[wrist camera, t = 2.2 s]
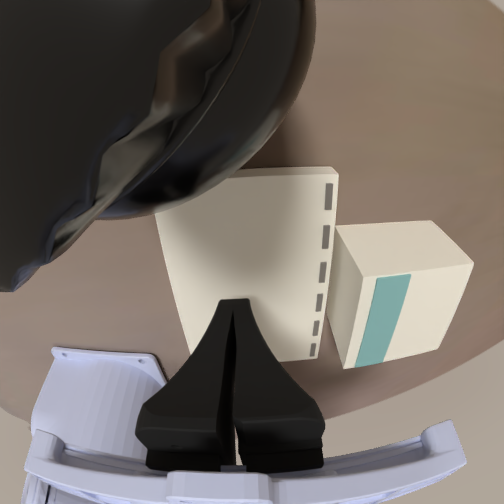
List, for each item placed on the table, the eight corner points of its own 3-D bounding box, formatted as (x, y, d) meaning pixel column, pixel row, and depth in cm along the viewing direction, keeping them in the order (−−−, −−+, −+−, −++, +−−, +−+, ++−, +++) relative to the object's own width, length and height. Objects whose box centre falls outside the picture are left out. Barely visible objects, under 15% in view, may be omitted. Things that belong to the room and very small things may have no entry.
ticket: (195, 351, 19) (194, 366, 18) (156, 177, 13) (148, 186, 12) (314, 344, 19) (317, 359, 18) (330, 166, 13) (339, 175, 12)
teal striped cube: (326, 311, 18) (343, 370, 14) (333, 224, 15) (364, 278, 11) (409, 299, 18) (438, 350, 14) (430, 219, 15) (475, 264, 11)
